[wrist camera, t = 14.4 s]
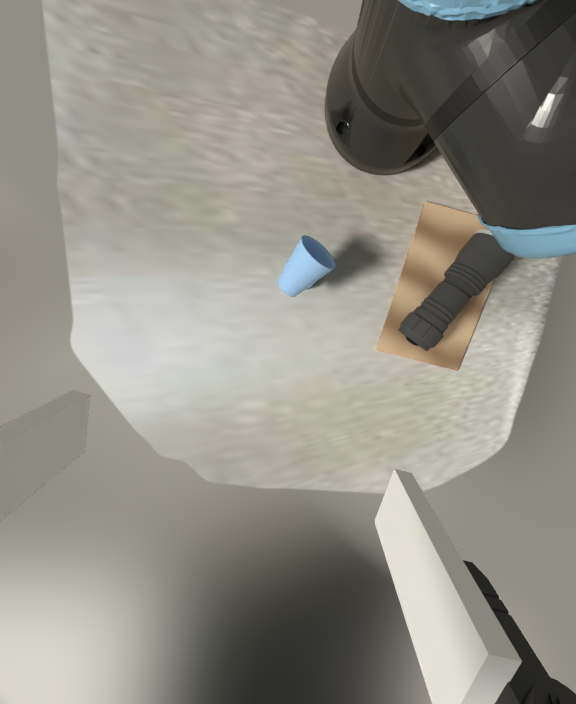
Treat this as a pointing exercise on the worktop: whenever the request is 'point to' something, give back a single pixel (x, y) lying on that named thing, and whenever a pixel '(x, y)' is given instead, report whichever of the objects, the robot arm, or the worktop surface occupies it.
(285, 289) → the spotlight
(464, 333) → the mat
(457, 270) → the flashlight
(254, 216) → the worktop surface
